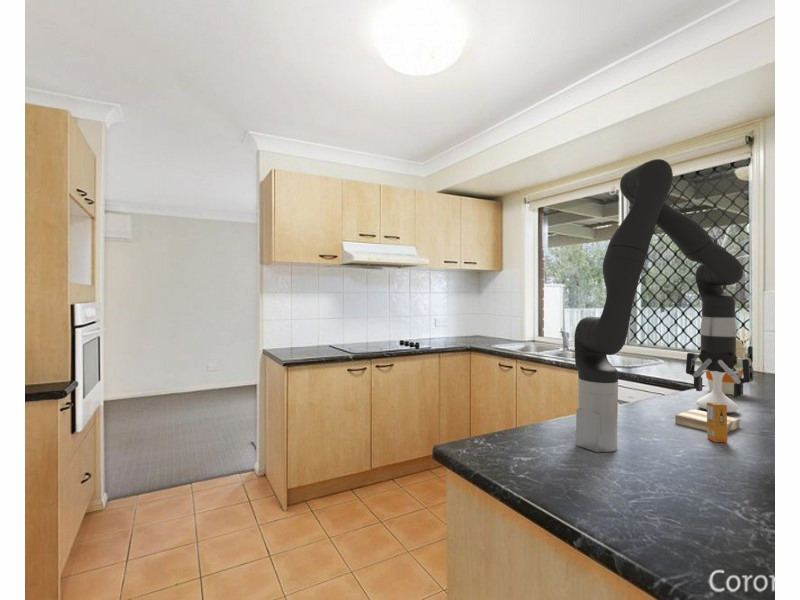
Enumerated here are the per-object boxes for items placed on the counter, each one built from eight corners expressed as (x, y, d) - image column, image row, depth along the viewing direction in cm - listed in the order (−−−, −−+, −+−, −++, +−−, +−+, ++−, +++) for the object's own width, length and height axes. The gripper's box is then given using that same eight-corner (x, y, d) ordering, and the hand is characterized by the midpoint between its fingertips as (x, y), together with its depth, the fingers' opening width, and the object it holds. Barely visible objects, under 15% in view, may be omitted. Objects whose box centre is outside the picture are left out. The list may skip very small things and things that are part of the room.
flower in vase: (692, 410, 139) (693, 336, 138) (700, 404, 146) (701, 334, 146) (741, 419, 129) (743, 339, 129) (747, 412, 137) (749, 337, 136)
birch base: (722, 434, 115) (722, 425, 115) (675, 423, 125) (675, 414, 125) (739, 427, 121) (739, 418, 121) (693, 416, 131) (693, 408, 131)
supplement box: (718, 438, 112) (719, 401, 111) (727, 443, 108) (728, 405, 108) (705, 438, 112) (706, 401, 112) (714, 442, 108) (714, 405, 108)
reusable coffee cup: (749, 393, 162) (750, 355, 162) (735, 397, 156) (735, 358, 156) (712, 387, 173) (713, 351, 173) (697, 390, 167) (698, 354, 167)
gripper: (681, 332, 114) (681, 390, 114) (746, 337, 102) (745, 402, 102) (693, 331, 118) (693, 387, 118) (757, 335, 106) (756, 397, 106)
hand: (717, 394), depth 110 cm, fingers open, 8 cm apart
